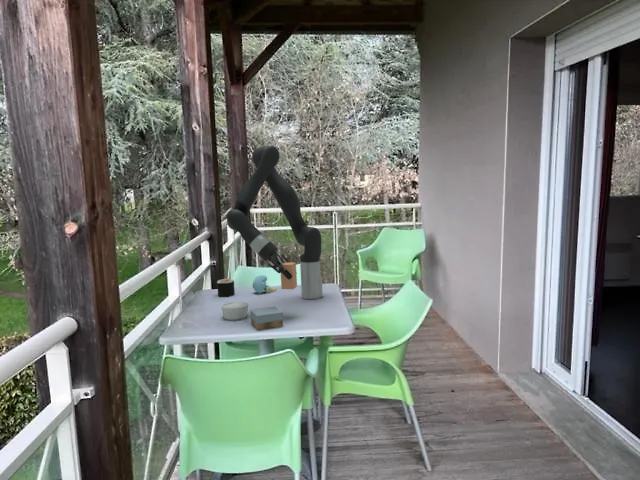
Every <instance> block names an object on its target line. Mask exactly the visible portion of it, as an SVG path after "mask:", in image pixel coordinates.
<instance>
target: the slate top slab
mask: <svg viewBox="0 0 640 480" xmlns="http://www.w3.org/2000/svg"><path fill="white" fill-rule="evenodd" d="M249 312H250V314H249V315H250V319H251V318H252V319H253V320H254V321H255V322H256V323H257V324H259V323H266V322H273V321H280V320H283V319H284V318H283V317H284V315H283V314H284V313H283V311H282V310H280V309H279V308H277V307H276V306H268V307H262V308H261V307H260V308H253V309H250V310H249Z"/></svg>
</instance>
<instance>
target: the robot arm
mask: <svg viewBox="0 0 640 480" xmlns="http://www.w3.org/2000/svg"><path fill="white" fill-rule="evenodd" d="M280 154H281V153H280V152H279V149H278V148H277V147H276V146H275V145H269V144H268V145H263V146H259V147H256V148H254V150H253V152H252V154H251V156H252V161H253V164H254V166H255V167H256V169H255V171H254V172H253V173H252V175H251V176H250V177H249V178H248V179H247V181H246V182H245V183H244V184H243V185H242V187H241V189H240V191H239V193H238V195H237V197H236V199H235V204H234V207H233V209H231V210H229V211H228V212H227V214H226V223H227V226H228V228H229V229H231V230H232V231H237V232H238V233H239V234H240V236H241V239H243V241H244V242H245V243H247V245H248V246H250V248H251V249H252V250H253V252H255V254H257V255H258V256H259V258H260V259H261V260H263V261H264V262H267V261H268V263H267V265H268V266H269V267H270V268H271V269H273V270H274V271H275V272H276V273H277V274H280V275H281V274H282V273H283V275H284V276H285V277H286V278H287V279H289V280H290V279H291V278H292V275H291V274H290V273H289V272H288V271H287V270H286V268H285V267H284V266H283V265H284V264H283V263H284V262H285V263H291V262H290V261H289V259H287V257H286V256H285V255H284V254H279V253H277V252H278V250H279V249H278V247H277V246H276V245H275V244H274V243H273V242H272V241H271V240H270V239H269V238H268V237H267V236H265V235H264V234H263V233H262V232H261V231H260V230H259V229H258V228H257V227H255V225H254V224H253V223H252V222H251V221H250V219H249V218H248V216H249V213H250V210H251V208H252V206H253V204H254V203H255V200H256V199H257V197H258V195H259V192H260V191H261V189H262V187H263V185H264V184H265V182H266V184H267V185H268V187H269V189H270V191H271V193H272V195H273V196H274V198H275V200H276V202H277V204H278V206H279V207H280V209H281V211H282V213H283V214H284V216H285V218H286V221H287V222H288V224H289V226H290V228H291V231H292V233H293V235H294V238H295V240H296V242H297V243H298V244H299V245H300V246H303V247H304V251H303V252H302V254H301V255H300V256H299V266H300V286H301V287H300V288H301V289H300V291H301V299H305V300H315V299H320V298H323V297H324V296H323V295H324V293H323V277H322V276H321V254H322V234H321V232H320V230H319V228H316V227H315V226H314V227H313V226H308V225H307V223H306V221H305V220H304V218H303V216H302V213H301V203H300V199H299V196H298V195H297V193H296V191H295V189H294V187H293V186H292V185H291V184H290V183H289V181H287V180H286V179H285V178H284V177H283V176H282V175H280V173H279V172H278V171H277V169H276V168H275V167H277V165H278V164H279V161H280V158H281V155H280ZM297 274H298V272H297V271H296V275H297Z"/></svg>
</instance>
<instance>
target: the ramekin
mask: <svg viewBox="0 0 640 480" xmlns="http://www.w3.org/2000/svg"><path fill="white" fill-rule="evenodd" d="M221 310H222V315H223V318H224V319H225V320H228V321H237V320H242V319H243V320H244V319H245V318H247V316H248V311H249V303H248V302H245V301H231V302H227V303H223V304H221Z"/></svg>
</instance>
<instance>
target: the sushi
mask: <svg viewBox="0 0 640 480" xmlns="http://www.w3.org/2000/svg"><path fill="white" fill-rule="evenodd" d="M216 285H217V297H218V296H219V298H228V297H229V296H230V297H234V296H235V280H234V279H233V278H223V279H219V280H217V281H216Z"/></svg>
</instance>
